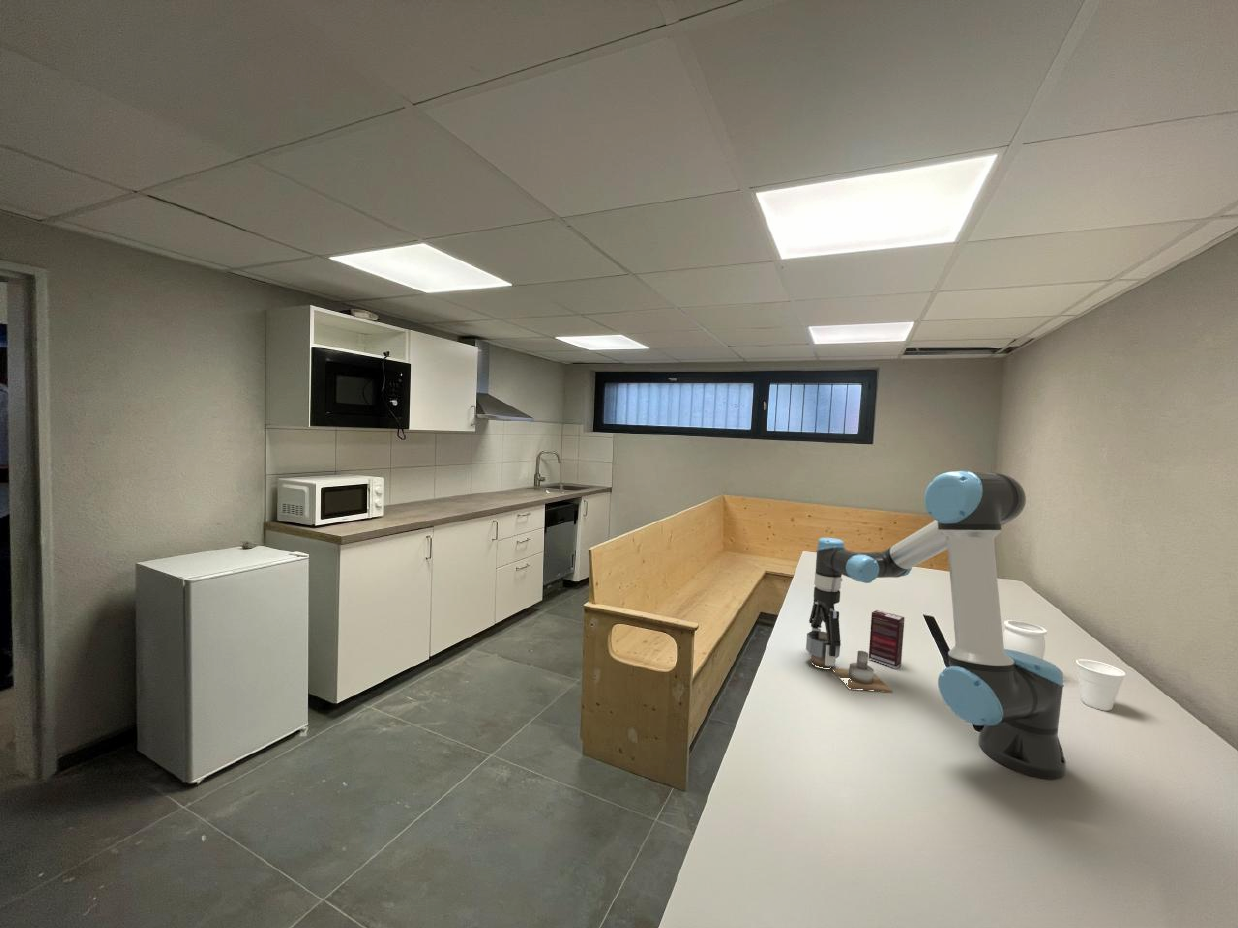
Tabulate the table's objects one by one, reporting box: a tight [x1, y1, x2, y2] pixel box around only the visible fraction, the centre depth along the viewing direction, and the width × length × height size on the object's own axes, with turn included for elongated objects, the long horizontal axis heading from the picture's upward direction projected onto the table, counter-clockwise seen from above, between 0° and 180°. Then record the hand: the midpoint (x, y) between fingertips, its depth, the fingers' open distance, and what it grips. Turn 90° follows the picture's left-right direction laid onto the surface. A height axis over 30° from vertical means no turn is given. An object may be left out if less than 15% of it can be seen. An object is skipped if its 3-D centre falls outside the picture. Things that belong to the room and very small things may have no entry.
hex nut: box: [805, 630, 841, 659], centre depth 151 cm, size 9×9×5 cm
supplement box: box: [868, 609, 905, 670], centre depth 156 cm, size 9×5×16 cm, turn 43°
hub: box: [831, 650, 893, 693], centre depth 142 cm, size 12×12×8 cm
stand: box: [810, 631, 833, 668], centre depth 151 cm, size 6×6×10 cm
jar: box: [1002, 619, 1048, 660], centre depth 154 cm, size 11×10×15 cm
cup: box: [1075, 658, 1127, 712], centre depth 135 cm, size 10×10×11 cm
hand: (822, 656), depth 152 cm, fingers open, 11 cm apart
